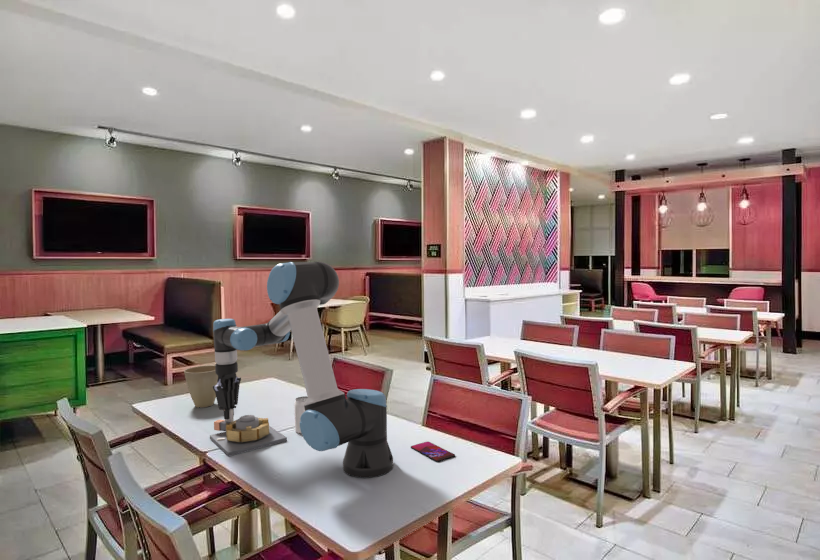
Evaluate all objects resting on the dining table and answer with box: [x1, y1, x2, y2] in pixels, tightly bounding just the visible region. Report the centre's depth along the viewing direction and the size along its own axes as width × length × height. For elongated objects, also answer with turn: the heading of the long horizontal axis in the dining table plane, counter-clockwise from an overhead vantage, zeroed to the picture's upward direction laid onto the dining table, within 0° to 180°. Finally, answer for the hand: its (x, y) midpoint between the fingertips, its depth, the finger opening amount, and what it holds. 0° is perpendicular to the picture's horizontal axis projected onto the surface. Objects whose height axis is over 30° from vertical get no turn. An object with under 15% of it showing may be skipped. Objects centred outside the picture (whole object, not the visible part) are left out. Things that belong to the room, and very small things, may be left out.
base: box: [209, 414, 288, 457], centre depth 171 cm, size 20×20×8 cm
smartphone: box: [410, 441, 456, 463], centre depth 158 cm, size 8×1×15 cm
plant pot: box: [183, 364, 218, 408], centre depth 213 cm, size 15×15×16 cm
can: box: [293, 395, 308, 435], centre depth 179 cm, size 6×6×12 cm
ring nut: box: [213, 417, 270, 442], centre depth 173 cm, size 21×14×4 cm, turn 68°
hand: (229, 426), depth 177 cm, fingers closed
